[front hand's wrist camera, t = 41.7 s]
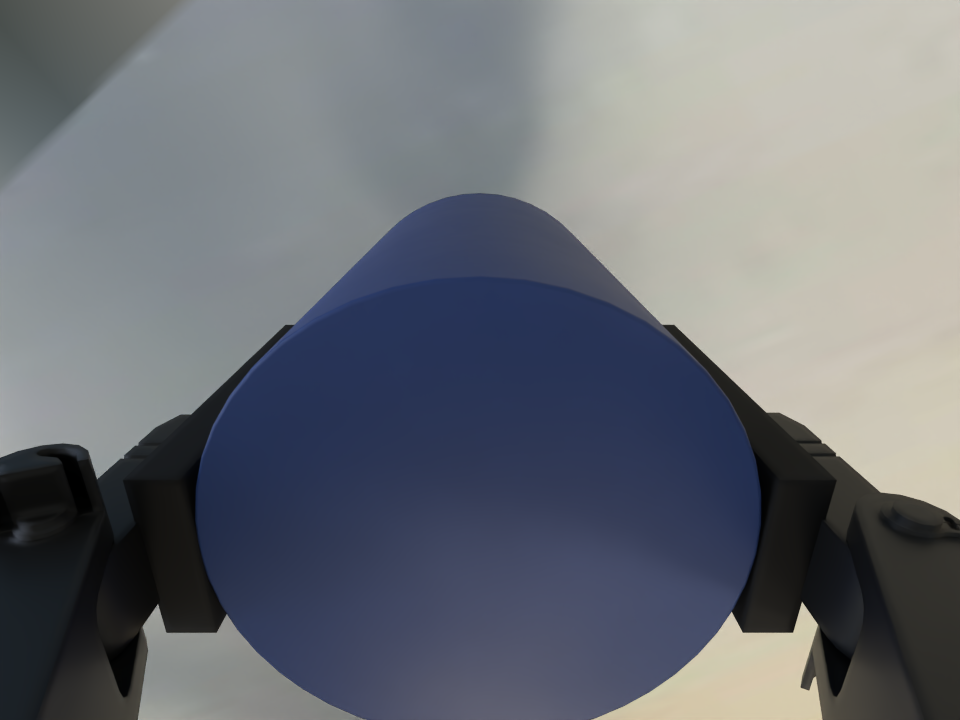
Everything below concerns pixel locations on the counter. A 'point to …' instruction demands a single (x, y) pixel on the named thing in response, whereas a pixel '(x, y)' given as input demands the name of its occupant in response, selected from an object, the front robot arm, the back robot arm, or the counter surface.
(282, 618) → the cylinder
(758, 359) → the counter surface
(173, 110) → the counter surface
